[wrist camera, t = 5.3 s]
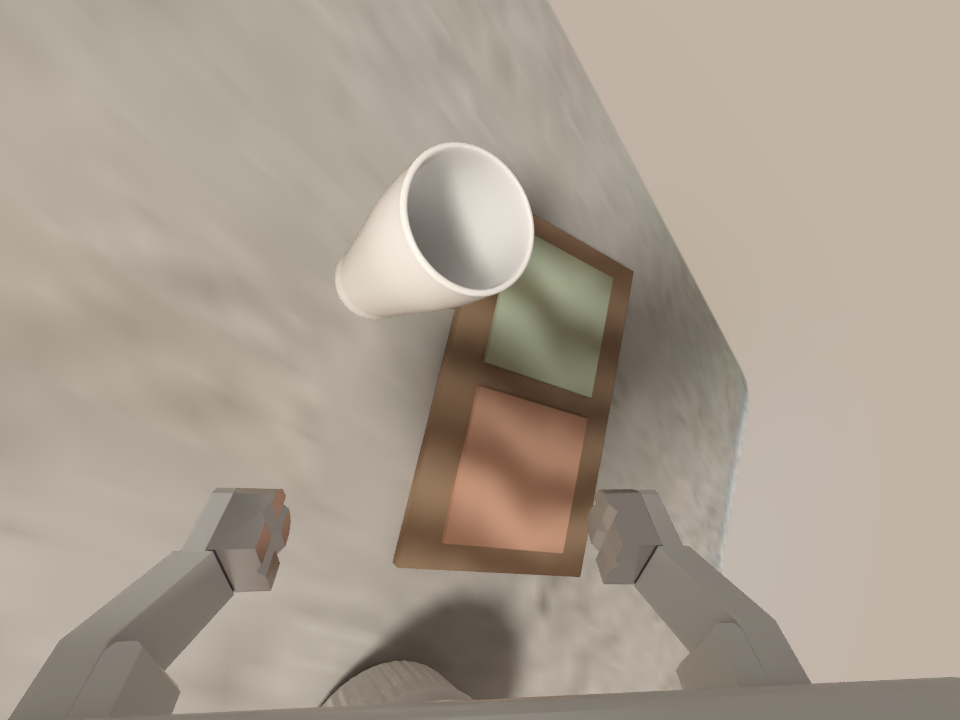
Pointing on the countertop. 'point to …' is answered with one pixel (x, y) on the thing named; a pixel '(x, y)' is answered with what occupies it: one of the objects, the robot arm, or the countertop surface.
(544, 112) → the countertop surface
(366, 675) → the ramekin
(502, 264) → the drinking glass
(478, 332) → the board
